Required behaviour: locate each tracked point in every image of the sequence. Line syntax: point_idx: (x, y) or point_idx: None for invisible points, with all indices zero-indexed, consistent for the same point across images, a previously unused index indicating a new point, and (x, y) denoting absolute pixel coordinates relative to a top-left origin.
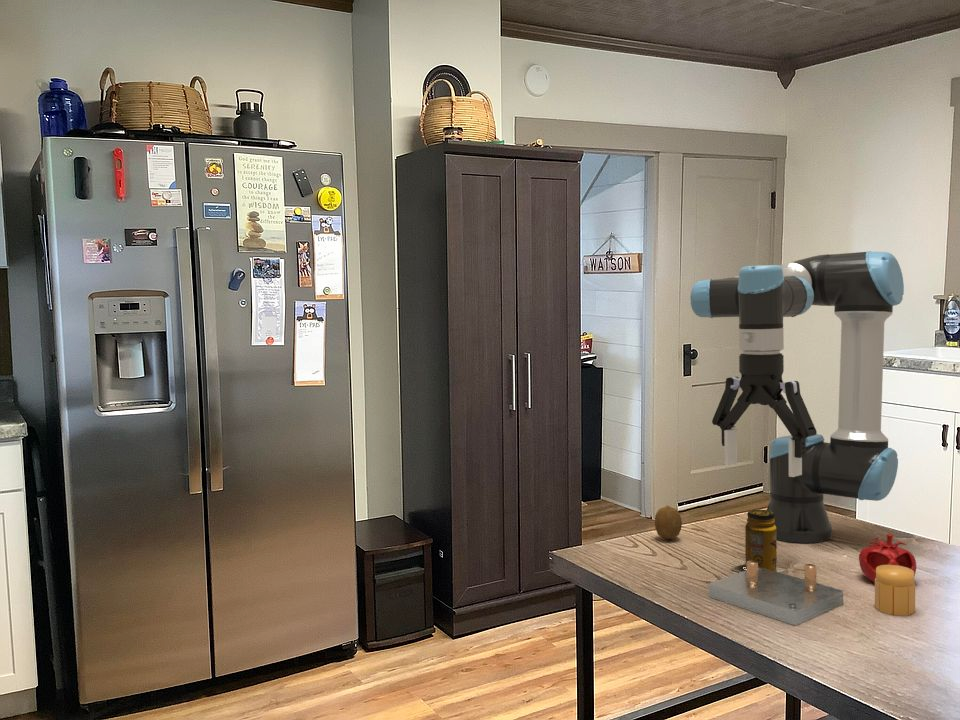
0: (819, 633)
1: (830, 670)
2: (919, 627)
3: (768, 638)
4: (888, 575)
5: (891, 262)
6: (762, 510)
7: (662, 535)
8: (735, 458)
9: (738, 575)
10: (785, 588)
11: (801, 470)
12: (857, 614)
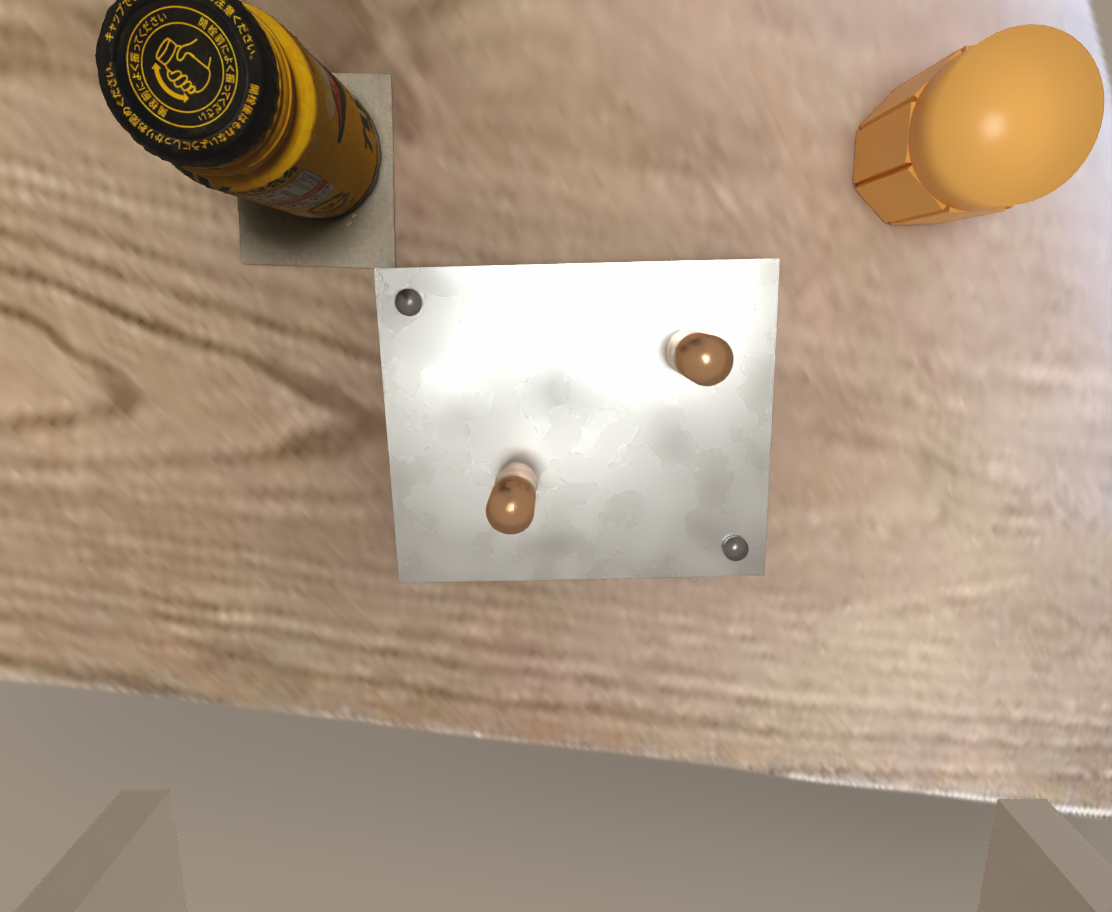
0: (831, 551)
1: (968, 732)
2: (1047, 260)
3: (745, 688)
4: (1016, 204)
5: None
6: (145, 6)
7: None
8: (135, 870)
9: (404, 426)
10: (614, 411)
11: (1080, 843)
12: (844, 314)
